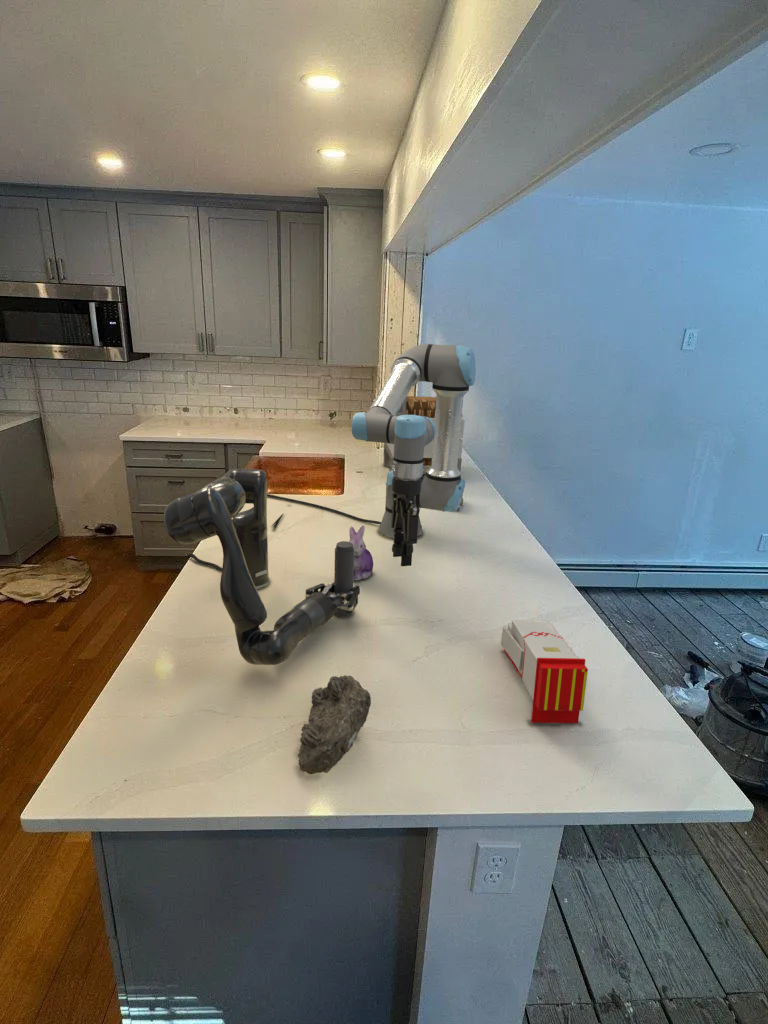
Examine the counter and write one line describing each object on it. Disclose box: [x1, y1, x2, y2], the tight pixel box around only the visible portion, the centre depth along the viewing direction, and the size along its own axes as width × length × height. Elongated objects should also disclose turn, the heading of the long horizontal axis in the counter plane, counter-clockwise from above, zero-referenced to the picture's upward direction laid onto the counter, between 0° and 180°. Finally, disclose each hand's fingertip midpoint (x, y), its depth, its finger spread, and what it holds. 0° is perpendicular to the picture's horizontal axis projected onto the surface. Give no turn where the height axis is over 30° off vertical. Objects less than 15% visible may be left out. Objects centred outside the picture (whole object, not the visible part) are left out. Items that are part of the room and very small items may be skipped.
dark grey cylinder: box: [333, 540, 354, 618], centre depth 144 cm, size 5×5×19 cm
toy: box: [500, 620, 589, 724], centre depth 121 cm, size 12×13×30 cm
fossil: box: [296, 674, 372, 775], centre depth 103 cm, size 22×10×15 cm
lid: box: [391, 542, 414, 555], centre depth 150 cm, size 6×6×2 cm
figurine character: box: [456, 495, 464, 511], centre depth 230 cm, size 7×8×15 cm
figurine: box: [348, 525, 374, 581], centre depth 166 cm, size 9×10×15 cm
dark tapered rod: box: [270, 513, 284, 530], centre depth 210 cm, size 2×28×2 cm
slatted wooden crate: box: [383, 395, 465, 473], centre depth 268 cm, size 34×33×41 cm
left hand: (349, 586), depth 147 cm, fingers closed on dark grey cylinder, 5 cm apart
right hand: (401, 560), depth 151 cm, fingers closed on lid, 5 cm apart
